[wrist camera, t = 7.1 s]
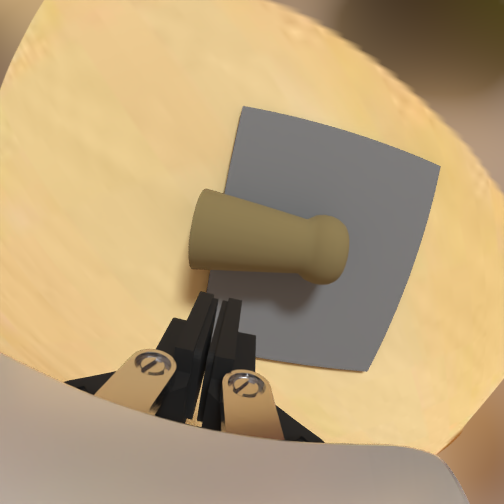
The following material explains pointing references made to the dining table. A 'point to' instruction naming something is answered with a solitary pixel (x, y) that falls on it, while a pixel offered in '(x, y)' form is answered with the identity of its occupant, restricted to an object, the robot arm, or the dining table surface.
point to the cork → (265, 240)
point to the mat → (350, 214)
